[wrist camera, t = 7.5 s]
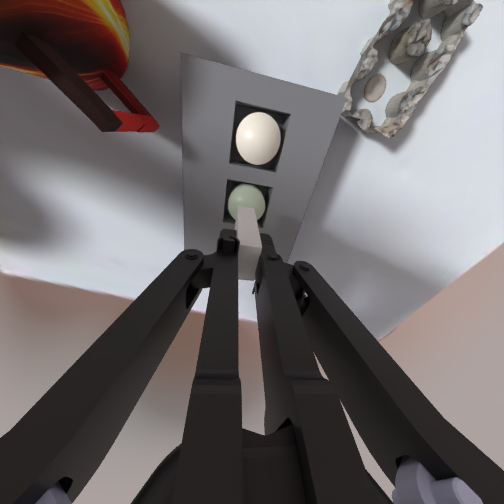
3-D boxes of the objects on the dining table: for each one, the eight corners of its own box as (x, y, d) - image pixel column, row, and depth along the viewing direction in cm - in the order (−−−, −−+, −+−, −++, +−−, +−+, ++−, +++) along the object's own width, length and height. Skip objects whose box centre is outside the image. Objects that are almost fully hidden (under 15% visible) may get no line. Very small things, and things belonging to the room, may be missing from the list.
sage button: (227, 210, 24) (226, 220, 21) (231, 177, 22) (230, 184, 19) (258, 215, 25) (260, 225, 22) (265, 183, 22) (268, 191, 20)
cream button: (234, 156, 21) (233, 160, 18) (239, 110, 18) (239, 106, 16) (270, 163, 21) (274, 168, 19) (279, 119, 19) (286, 118, 16)
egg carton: (368, 142, 23) (390, 144, 19) (323, 102, 20) (339, 97, 17) (456, 30, 18) (508, 7, 14) (410, -40, 15) (458, -87, 12)
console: (192, 252, 30) (184, 272, 26) (194, 70, 18) (180, 52, 14) (274, 262, 32) (279, 282, 28) (325, 104, 20) (347, 97, 16)
